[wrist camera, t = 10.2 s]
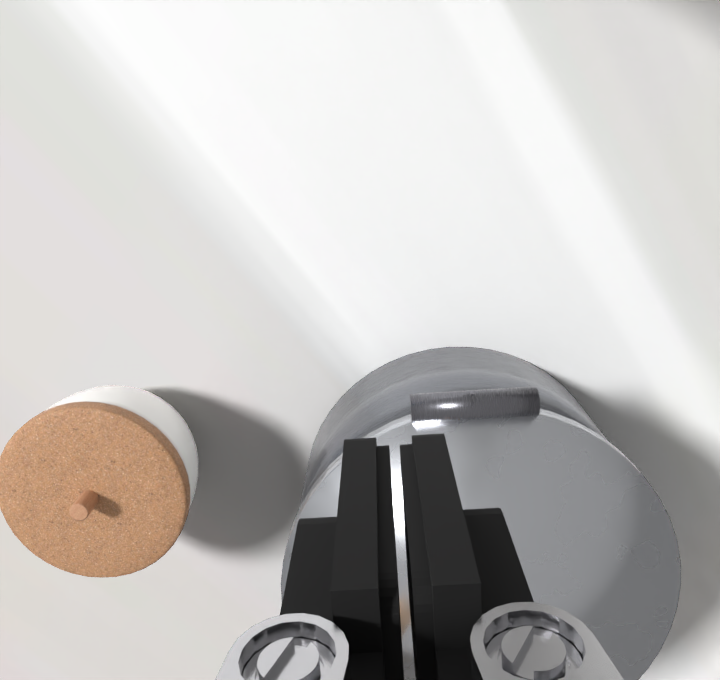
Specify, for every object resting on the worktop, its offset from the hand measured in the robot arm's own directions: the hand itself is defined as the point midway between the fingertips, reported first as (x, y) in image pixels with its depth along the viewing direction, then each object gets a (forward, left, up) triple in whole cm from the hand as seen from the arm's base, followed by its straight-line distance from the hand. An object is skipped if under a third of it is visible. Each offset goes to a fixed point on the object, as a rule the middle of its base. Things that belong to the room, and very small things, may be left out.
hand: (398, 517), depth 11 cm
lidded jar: (+12, -17, -31) cm, 38 cm away
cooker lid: (+19, +4, -21) cm, 29 cm away
